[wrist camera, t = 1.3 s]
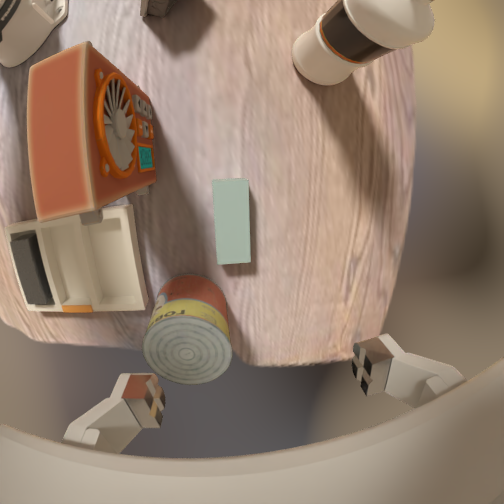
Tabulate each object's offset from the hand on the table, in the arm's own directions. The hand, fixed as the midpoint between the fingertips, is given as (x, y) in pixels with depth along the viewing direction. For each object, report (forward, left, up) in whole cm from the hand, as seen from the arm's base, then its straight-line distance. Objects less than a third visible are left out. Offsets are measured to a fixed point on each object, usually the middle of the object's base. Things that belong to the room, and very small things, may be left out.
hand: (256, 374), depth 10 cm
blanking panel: (0, +1, -31) cm, 31 cm away
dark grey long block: (+5, -33, -30) cm, 45 cm away
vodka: (-24, +15, -31) cm, 41 cm away
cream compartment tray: (+5, -25, -30) cm, 40 cm away
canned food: (+14, -6, -31) cm, 34 cm away
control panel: (-12, -12, -31) cm, 35 cm away
